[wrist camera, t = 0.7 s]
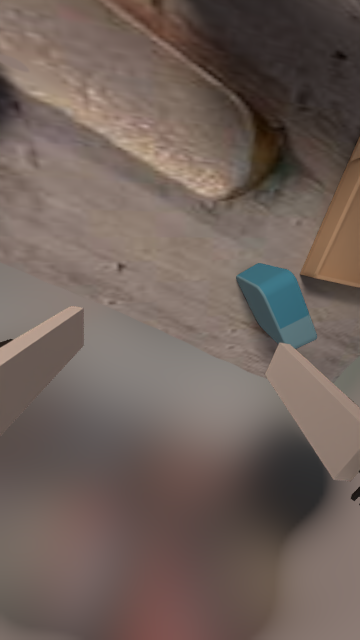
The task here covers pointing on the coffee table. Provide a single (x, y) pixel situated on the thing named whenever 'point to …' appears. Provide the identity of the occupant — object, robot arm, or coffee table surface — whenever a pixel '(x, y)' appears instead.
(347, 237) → the mailer box
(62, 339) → the robot arm
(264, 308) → the data package
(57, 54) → the coffee table surface
